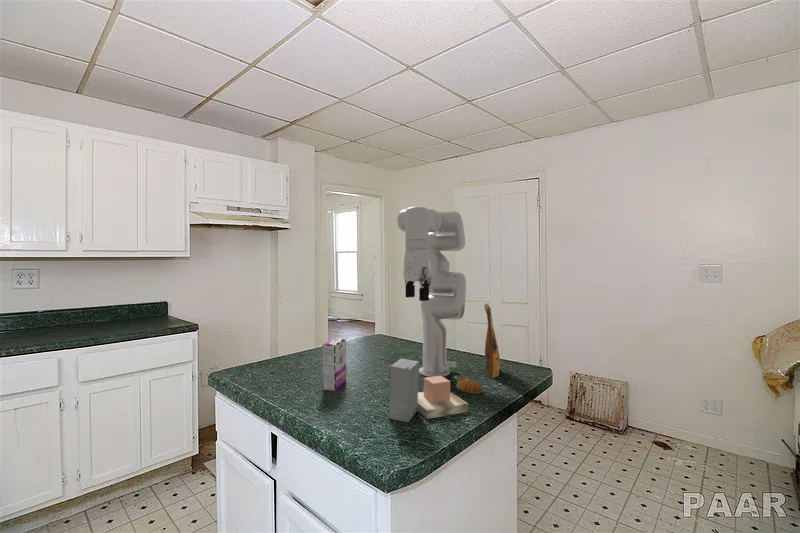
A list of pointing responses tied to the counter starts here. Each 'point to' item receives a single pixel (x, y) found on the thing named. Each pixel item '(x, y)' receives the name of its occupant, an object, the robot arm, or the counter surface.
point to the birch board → (440, 406)
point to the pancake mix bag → (491, 348)
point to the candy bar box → (334, 364)
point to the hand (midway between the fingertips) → (416, 298)
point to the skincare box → (403, 389)
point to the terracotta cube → (437, 389)
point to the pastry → (469, 386)
